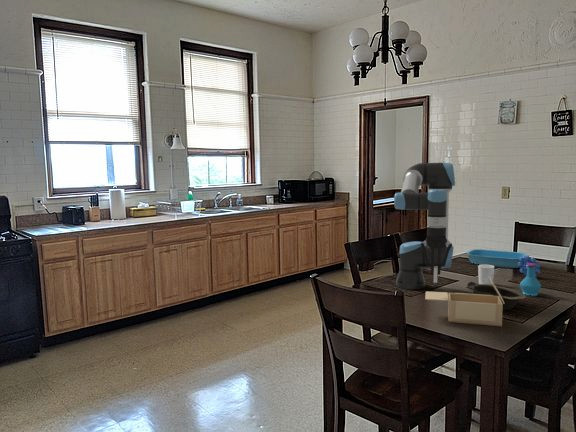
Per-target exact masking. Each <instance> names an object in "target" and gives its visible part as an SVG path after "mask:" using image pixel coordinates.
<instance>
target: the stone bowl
mask: <svg viewBox="0 0 576 432" xmlns="http://www.w3.org/2000/svg"><path fill="white" fill-rule="evenodd" d="M495 286H496V288H497V290H498V291H499V293H500V295H501V297H502V299H503V301H504V303H505V304H503V302H502V300H501V298H500V300H501V302H502V304H503V311H505V310H507V311H509V310H511V309H513V308H514V307H515V306H516V305H517V304H518V302H519V299H521V300H523V299H526V298H527V295H525V294H523V292H521V291H518V290H515V289H512V288H509V287H508V288H507V287H505V286H499V285H495ZM465 288H466V289H468V290H471V291H473V292H472V294H481V295H492V296H499V295H498V293H497V292H496V290H495V288H494V286H493V285H490V284H479V283H476V282H475V281H474V282H473V281H470V282H468V283H467V286H466V287H465Z"/></svg>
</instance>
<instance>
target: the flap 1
mask: <svg viewBox="0 0 576 432" xmlns="http://www.w3.org/2000/svg"><path fill="white" fill-rule="evenodd" d="M448 293H449V292H447V291H446V292H445V291H425V296H424V297H425V299H424V300H426V301H443V302H446V301H447V302H448Z"/></svg>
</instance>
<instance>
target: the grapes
mask: <svg viewBox="0 0 576 432" xmlns="http://www.w3.org/2000/svg"><path fill="white" fill-rule="evenodd" d="M519 261H520V262H518V264H517V265H518V268H519V272H520V273H522V274H524V275H525V277H526V276H527V265H526V264H528V263H534V264H536V265H537V266H536V268H535V277H536V278H537V274H540V273H541V269H540V267H541V264H540V263H539V262H536V261H537V259H536V258H535V257H530V255H529V256H524V258H522V257H521V258H519Z"/></svg>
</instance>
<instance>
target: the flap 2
mask: <svg viewBox="0 0 576 432" xmlns="http://www.w3.org/2000/svg"><path fill="white" fill-rule="evenodd" d="M489 278H490V277H489ZM490 280H491V283H492V285H493V286H494V288H495V290H496V292H497V293H498V295H499V297H500V298H501V300H502V302H503V304H505V303H504V301H503V299H502V297H501V295H500V293H499V291H498V290H497V288H496V286H497V285H496V286H495V283H494V280H493V281H492V279H491V278H490Z"/></svg>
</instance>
